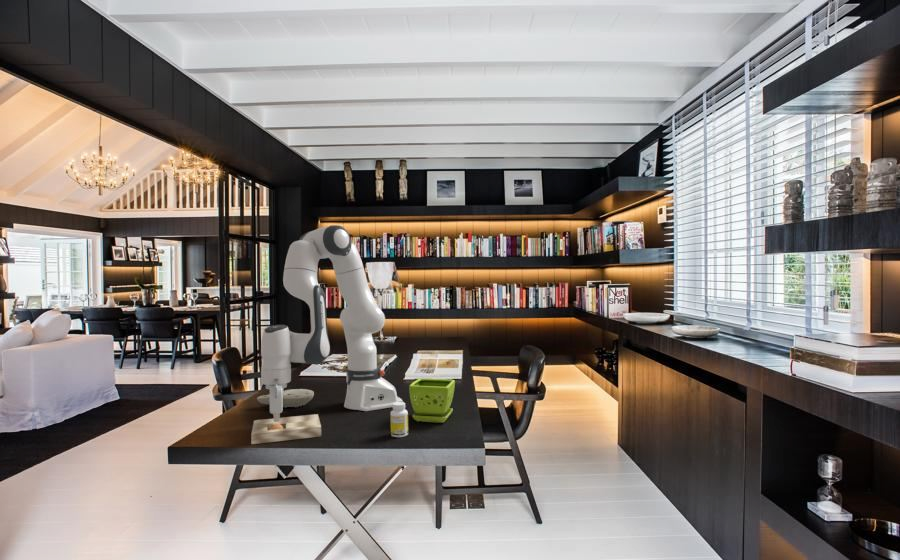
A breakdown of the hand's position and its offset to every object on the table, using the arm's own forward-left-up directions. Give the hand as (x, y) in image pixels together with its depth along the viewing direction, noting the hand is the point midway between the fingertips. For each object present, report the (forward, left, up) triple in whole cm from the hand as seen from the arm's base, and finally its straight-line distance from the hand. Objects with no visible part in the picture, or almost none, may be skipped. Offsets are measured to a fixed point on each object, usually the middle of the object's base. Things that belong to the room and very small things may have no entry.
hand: (276, 420), depth 150 cm
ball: (0, +3, -2) cm, 4 cm away
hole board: (-3, 0, -4) cm, 5 cm away
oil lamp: (-3, -35, -4) cm, 35 cm away
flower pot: (-51, +2, -4) cm, 51 cm away
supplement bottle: (-36, +15, -4) cm, 39 cm away
